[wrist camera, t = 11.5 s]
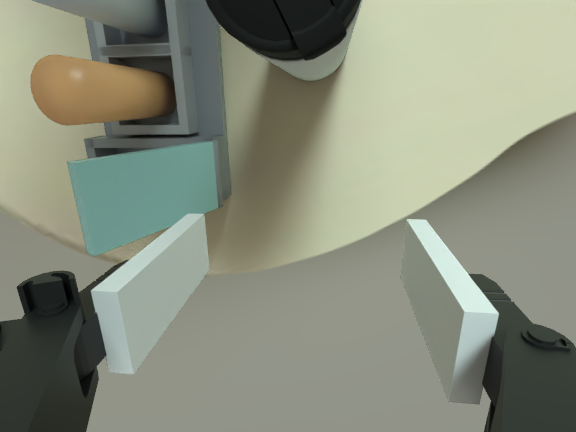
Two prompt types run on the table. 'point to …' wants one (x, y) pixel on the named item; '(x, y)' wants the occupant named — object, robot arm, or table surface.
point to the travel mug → (292, 31)
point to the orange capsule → (99, 91)
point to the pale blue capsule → (119, 14)
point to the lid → (143, 191)
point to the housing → (185, 74)
